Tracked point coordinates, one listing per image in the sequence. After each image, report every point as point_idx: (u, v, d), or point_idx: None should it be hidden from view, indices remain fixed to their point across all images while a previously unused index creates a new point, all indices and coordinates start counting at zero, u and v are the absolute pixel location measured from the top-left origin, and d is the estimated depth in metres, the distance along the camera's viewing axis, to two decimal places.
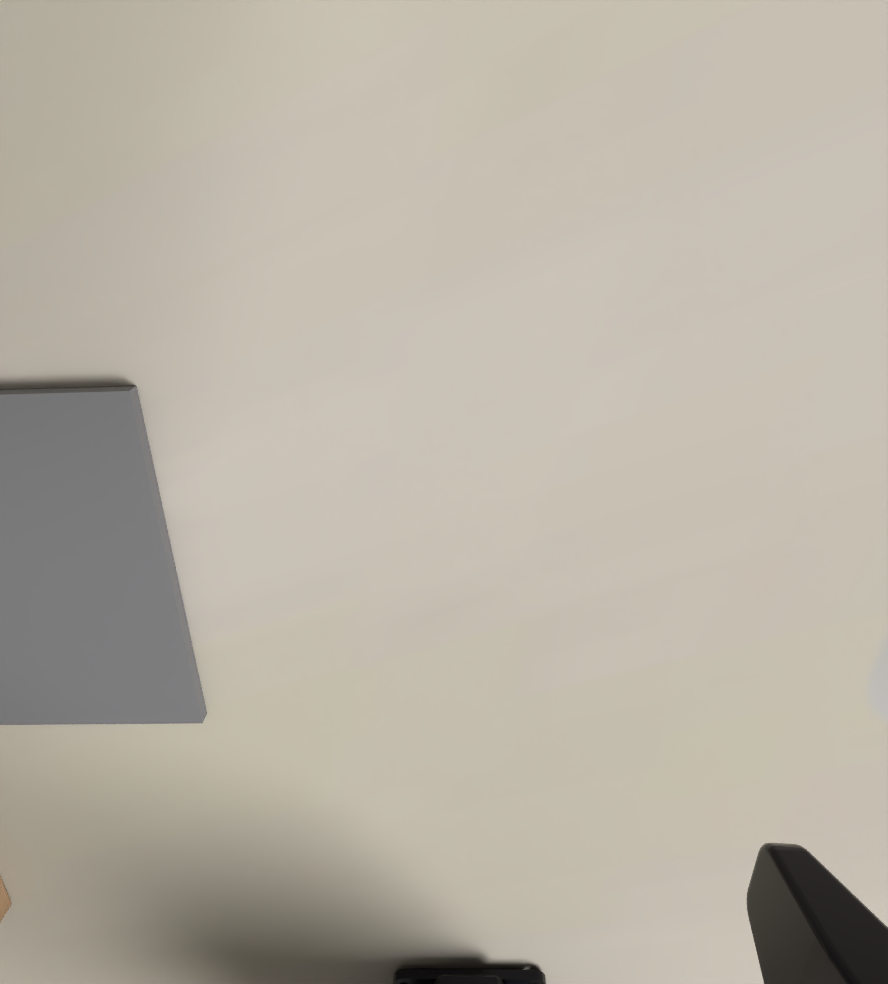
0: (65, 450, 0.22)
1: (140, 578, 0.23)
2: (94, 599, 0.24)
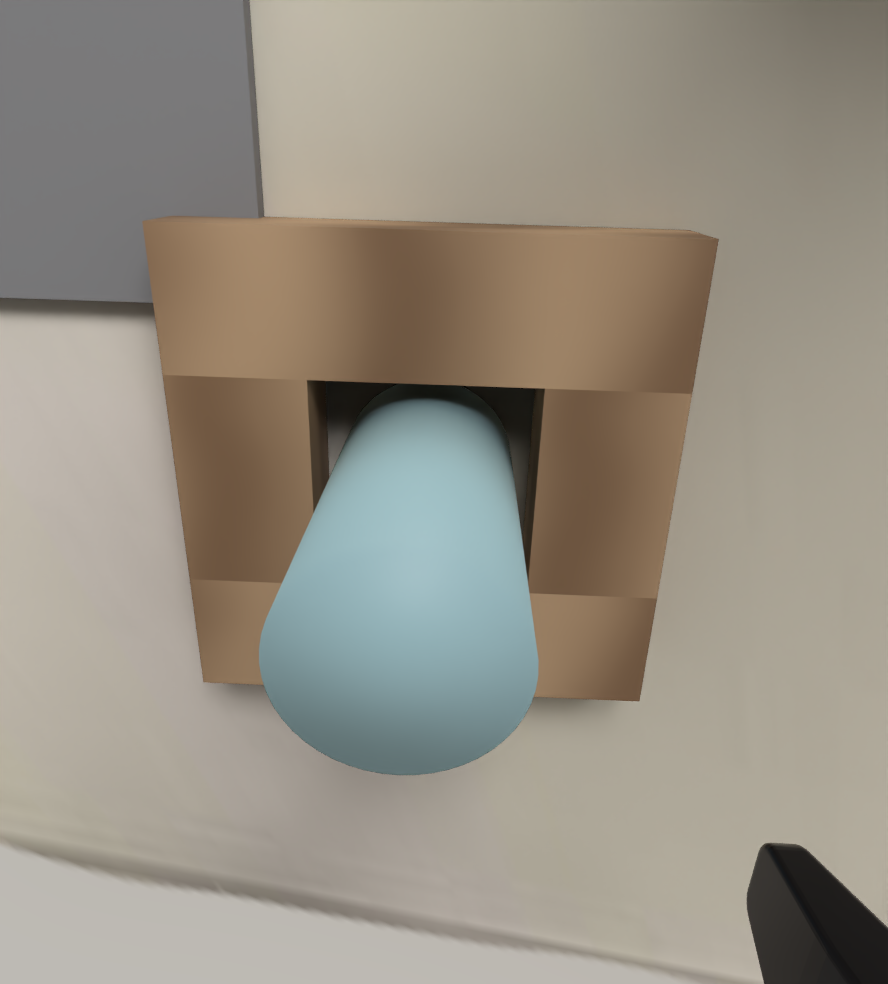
0: None
1: None
2: None
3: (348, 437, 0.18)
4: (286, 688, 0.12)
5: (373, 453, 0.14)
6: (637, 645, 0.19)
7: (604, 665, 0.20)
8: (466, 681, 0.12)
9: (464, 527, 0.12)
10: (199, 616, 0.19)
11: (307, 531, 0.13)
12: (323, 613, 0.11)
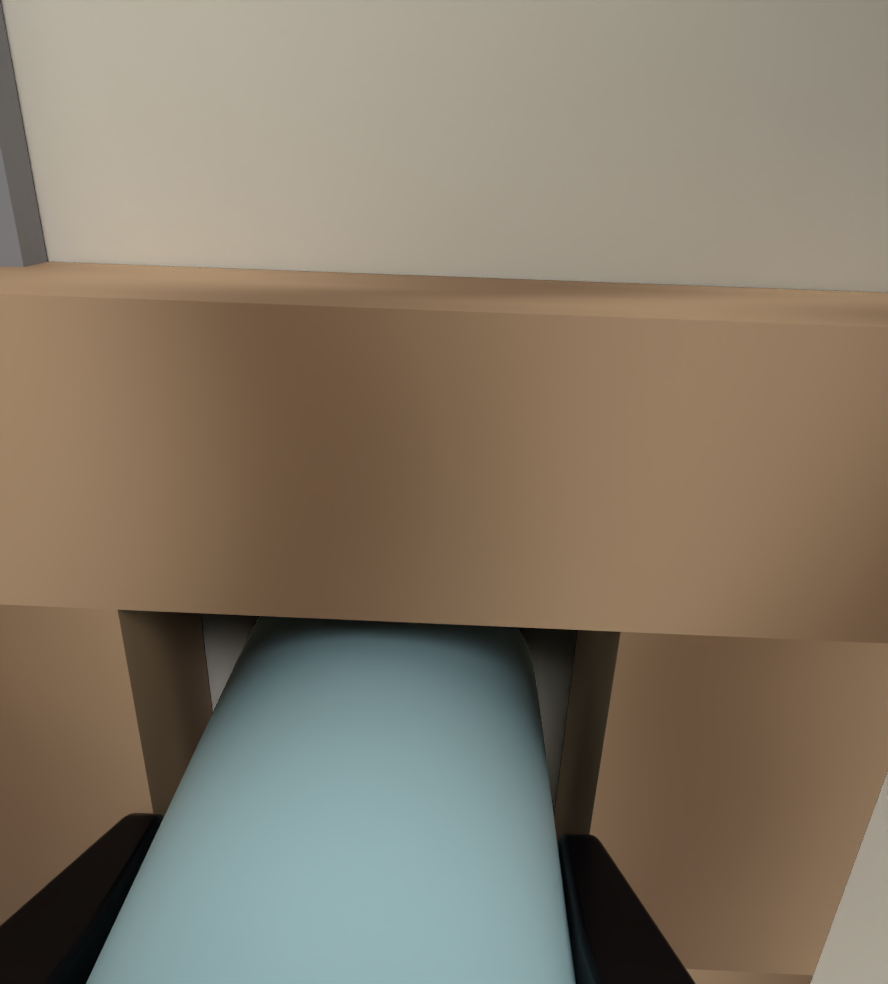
0: None
1: None
2: None
3: (222, 695, 0.09)
4: None
5: (213, 888, 0.06)
6: None
7: None
8: None
9: None
10: None
11: None
12: None
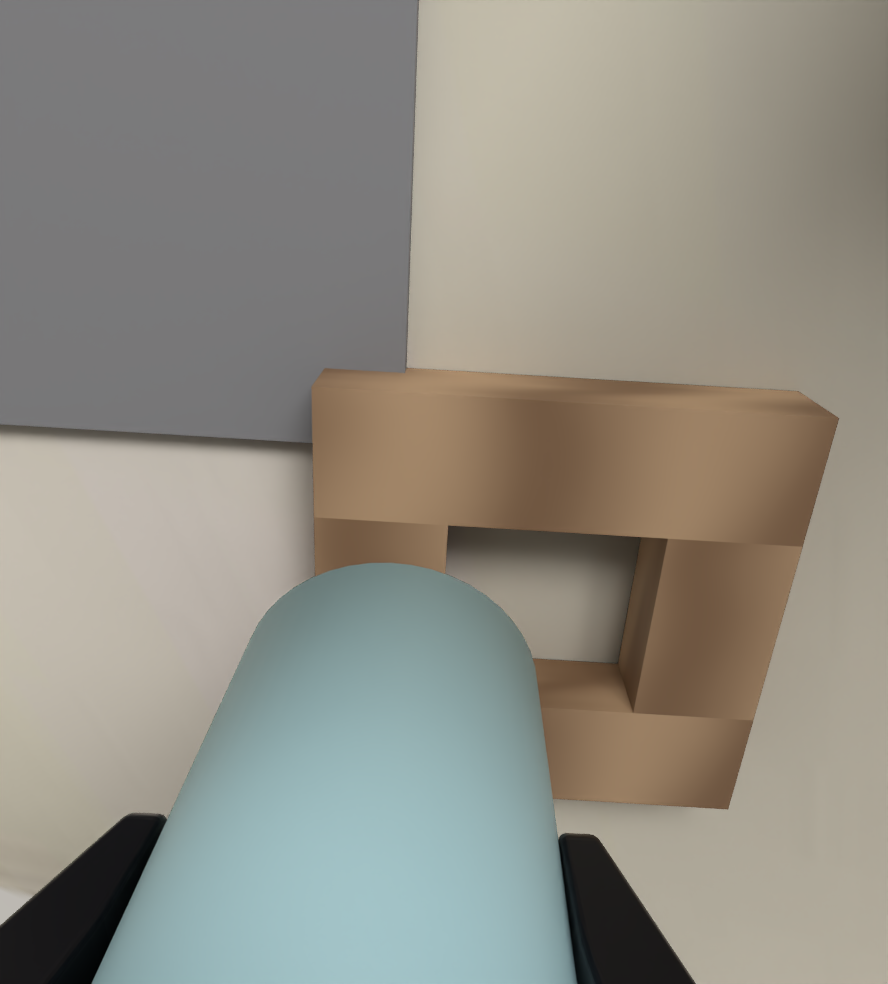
0: None
1: None
2: (169, 11, 0.15)
3: (224, 697, 0.09)
4: None
5: (217, 891, 0.06)
6: (731, 760, 0.21)
7: (698, 777, 0.21)
8: None
9: None
10: None
11: None
12: None
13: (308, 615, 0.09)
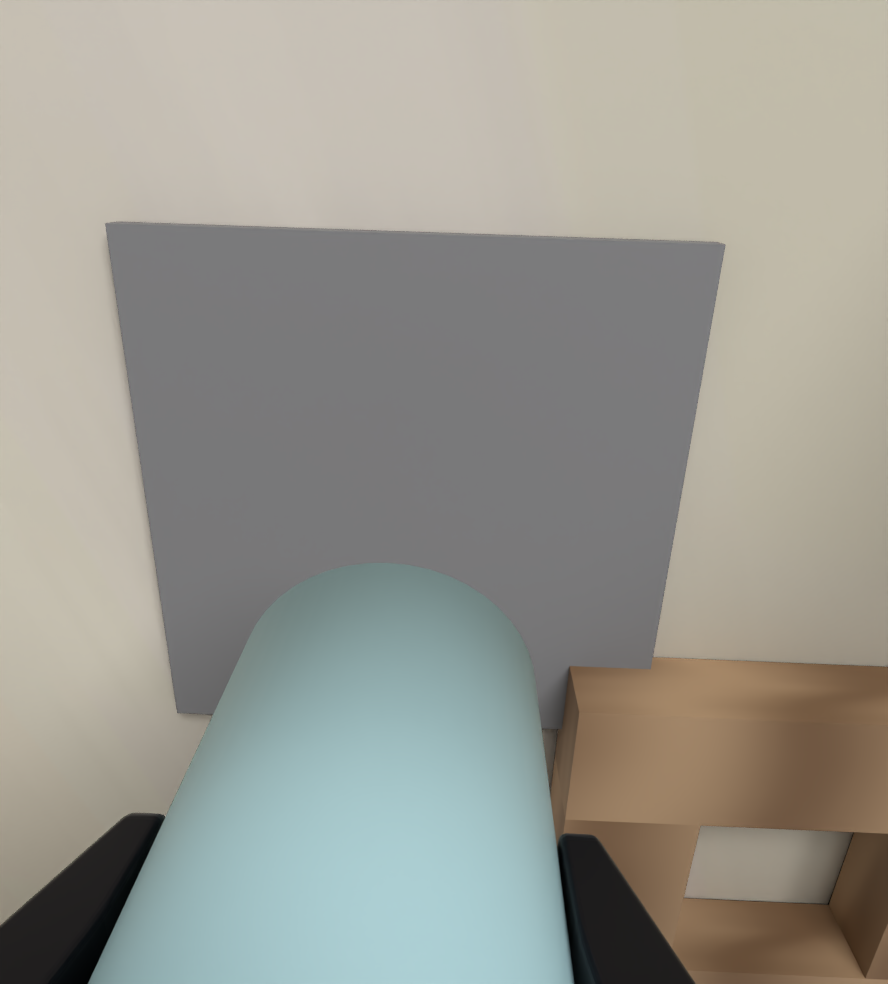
0: (206, 343, 0.15)
1: (418, 285, 0.15)
2: (453, 369, 0.15)
3: (222, 698, 0.09)
4: None
5: (212, 893, 0.06)
6: None
7: None
8: None
9: None
10: None
11: None
12: None
13: (306, 615, 0.09)
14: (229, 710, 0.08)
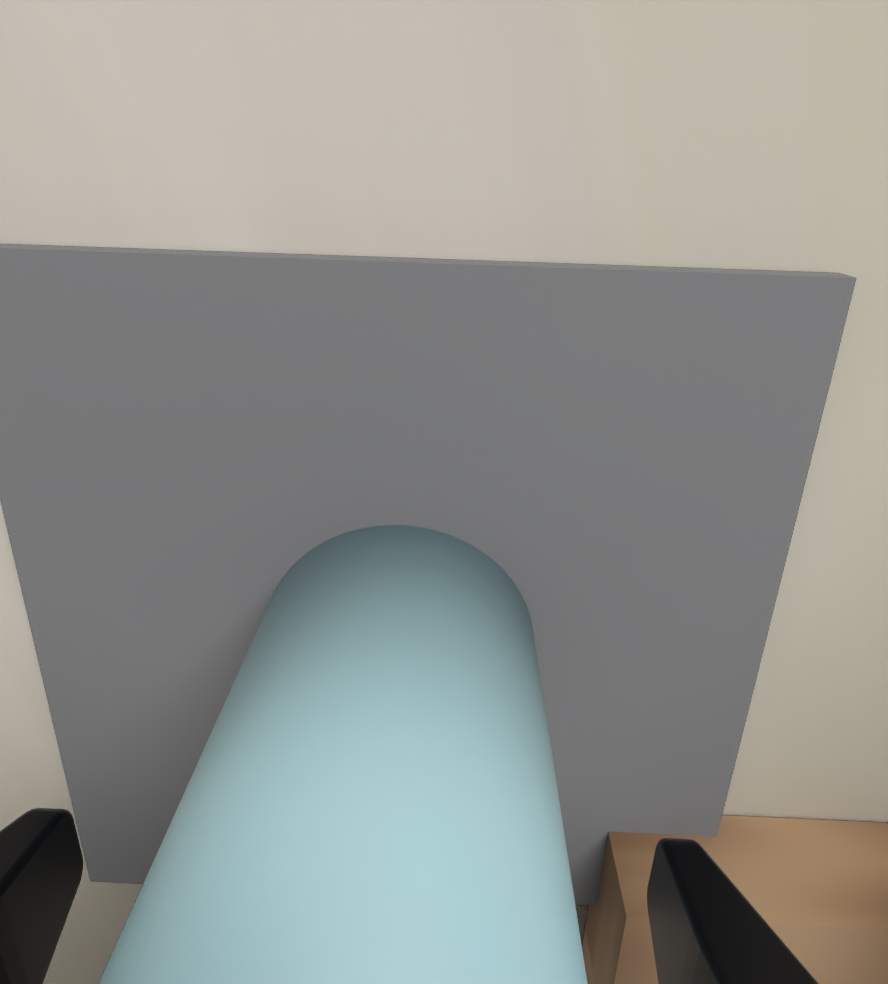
0: (98, 416, 0.11)
1: (402, 335, 0.10)
2: (452, 452, 0.11)
3: (253, 642, 0.10)
4: None
5: (263, 776, 0.07)
6: None
7: None
8: None
9: None
10: None
11: None
12: None
13: (328, 569, 0.10)
14: (263, 647, 0.09)
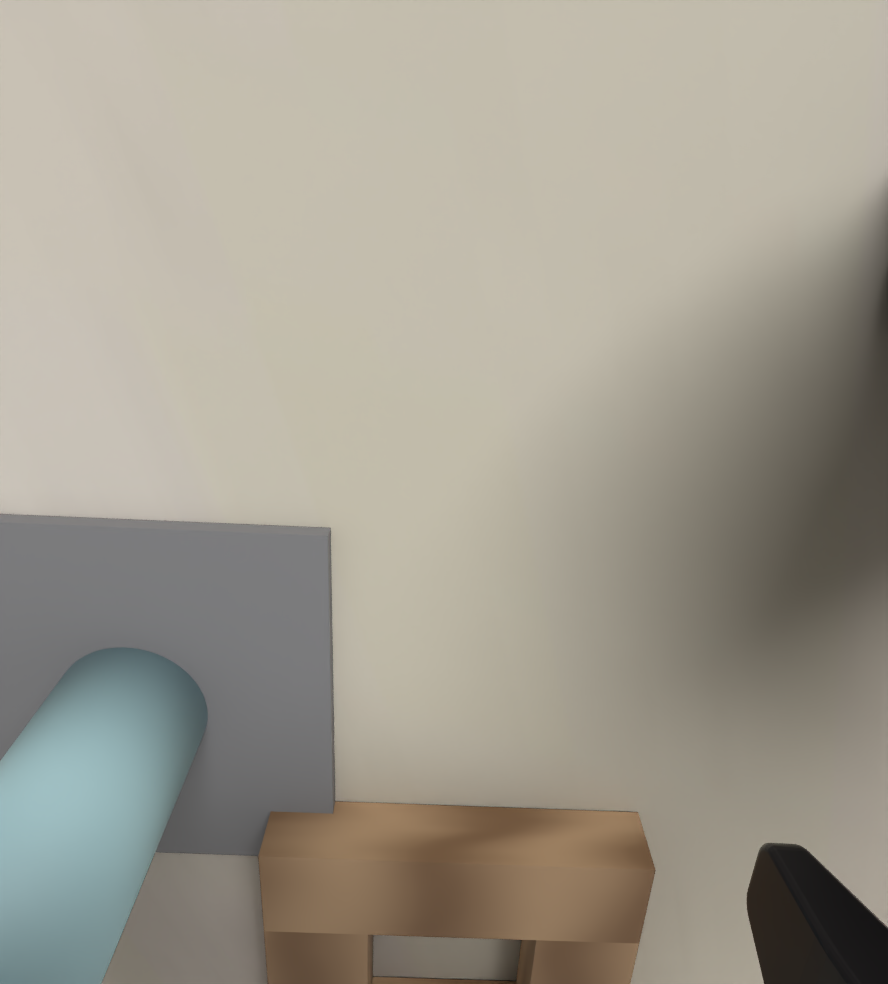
0: None
1: (111, 558, 0.20)
2: (146, 612, 0.21)
3: None
4: None
5: (1, 782, 0.17)
6: None
7: None
8: None
9: (15, 904, 0.14)
10: None
11: None
12: None
13: (75, 675, 0.20)
14: (31, 719, 0.19)
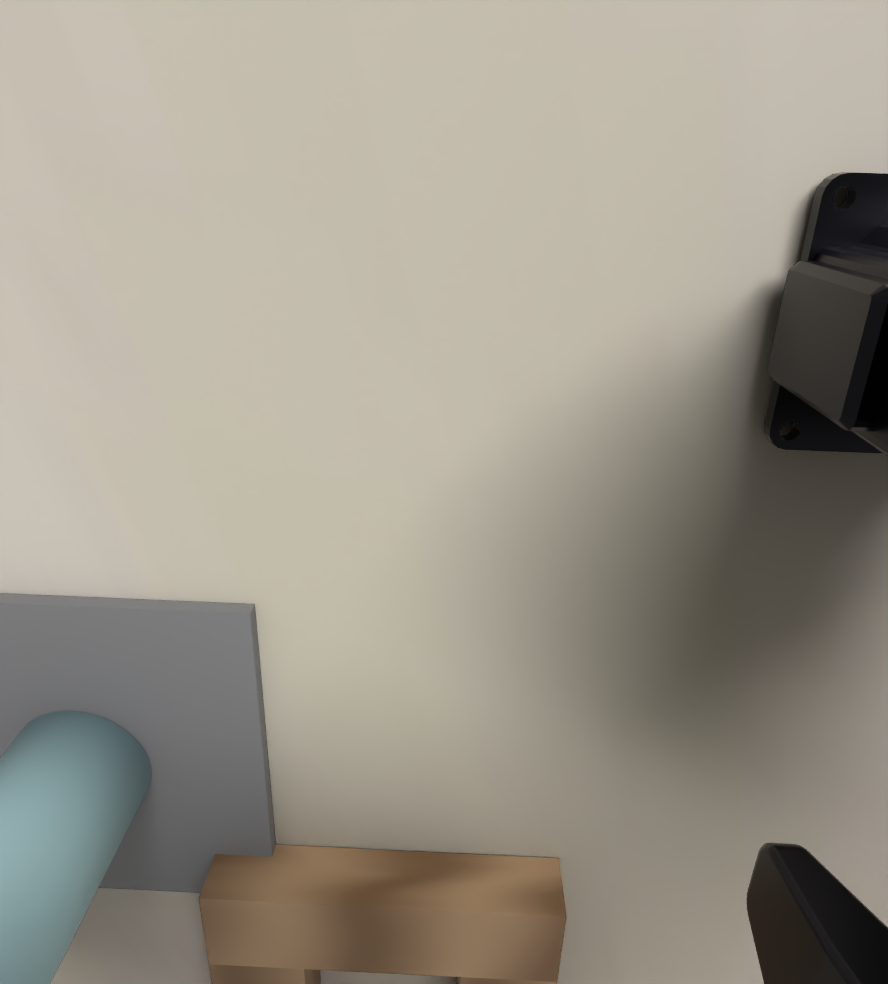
0: None
1: (56, 632, 0.22)
2: (90, 678, 0.23)
3: None
4: None
5: None
6: None
7: None
8: None
9: None
10: None
11: None
12: None
13: (23, 739, 0.22)
14: None
